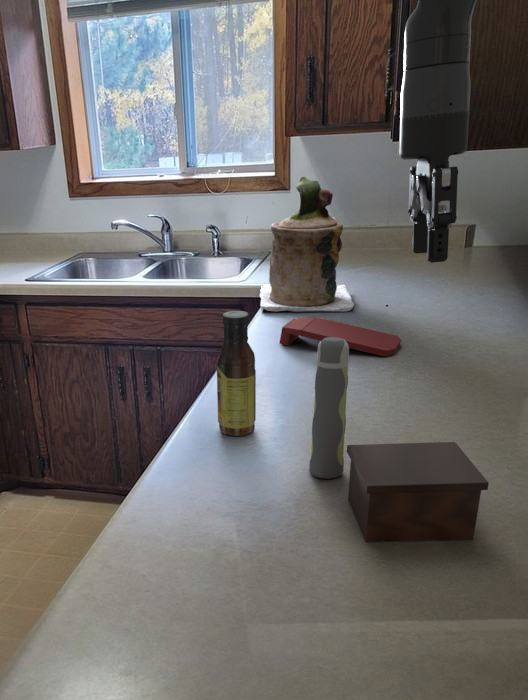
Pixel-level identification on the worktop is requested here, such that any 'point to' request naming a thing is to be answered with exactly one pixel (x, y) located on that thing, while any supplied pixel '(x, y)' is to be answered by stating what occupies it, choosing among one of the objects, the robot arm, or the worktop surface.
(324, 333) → the red bent slab
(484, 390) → the worktop surface
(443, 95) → the robot arm
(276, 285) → the cookie jar
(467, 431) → the worktop surface
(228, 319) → the sauce bottle
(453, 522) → the box
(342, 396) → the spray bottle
